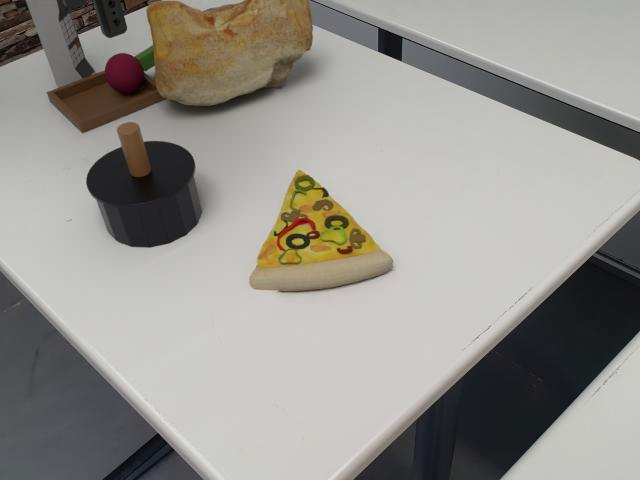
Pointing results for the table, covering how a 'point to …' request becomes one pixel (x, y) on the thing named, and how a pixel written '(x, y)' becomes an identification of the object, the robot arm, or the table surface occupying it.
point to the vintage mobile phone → (60, 41)
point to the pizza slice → (315, 244)
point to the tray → (101, 101)
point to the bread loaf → (226, 47)
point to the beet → (128, 70)
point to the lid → (140, 171)
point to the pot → (154, 220)
